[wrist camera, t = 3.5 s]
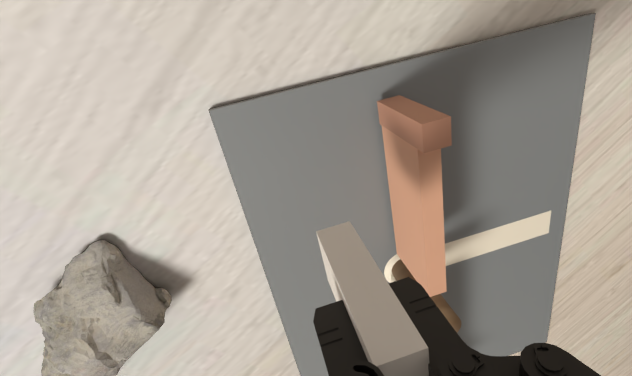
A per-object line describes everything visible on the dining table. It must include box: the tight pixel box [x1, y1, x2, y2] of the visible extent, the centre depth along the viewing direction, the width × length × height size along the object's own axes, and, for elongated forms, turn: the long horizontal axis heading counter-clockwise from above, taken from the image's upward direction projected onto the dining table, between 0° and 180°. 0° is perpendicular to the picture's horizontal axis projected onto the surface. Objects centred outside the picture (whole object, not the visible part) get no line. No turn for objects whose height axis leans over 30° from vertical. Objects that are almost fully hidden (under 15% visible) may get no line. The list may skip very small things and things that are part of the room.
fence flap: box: [377, 95, 452, 297], centre depth 20 cm, size 11×1×5 cm, turn 12°
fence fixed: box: [392, 259, 461, 332], centre depth 27 cm, size 14×2×6 cm, turn 12°
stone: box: [34, 240, 172, 376], centre depth 22 cm, size 6×12×4 cm, turn 137°
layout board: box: [209, 13, 596, 376], centre depth 27 cm, size 24×30×1 cm
